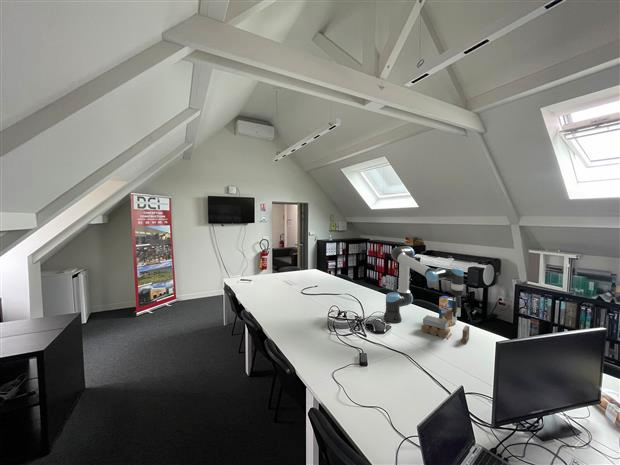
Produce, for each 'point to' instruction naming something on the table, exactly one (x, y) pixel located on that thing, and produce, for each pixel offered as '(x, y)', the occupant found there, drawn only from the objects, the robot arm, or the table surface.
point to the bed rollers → (435, 330)
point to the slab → (436, 322)
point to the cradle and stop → (463, 335)
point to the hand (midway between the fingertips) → (456, 318)
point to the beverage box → (445, 307)
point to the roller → (448, 314)
